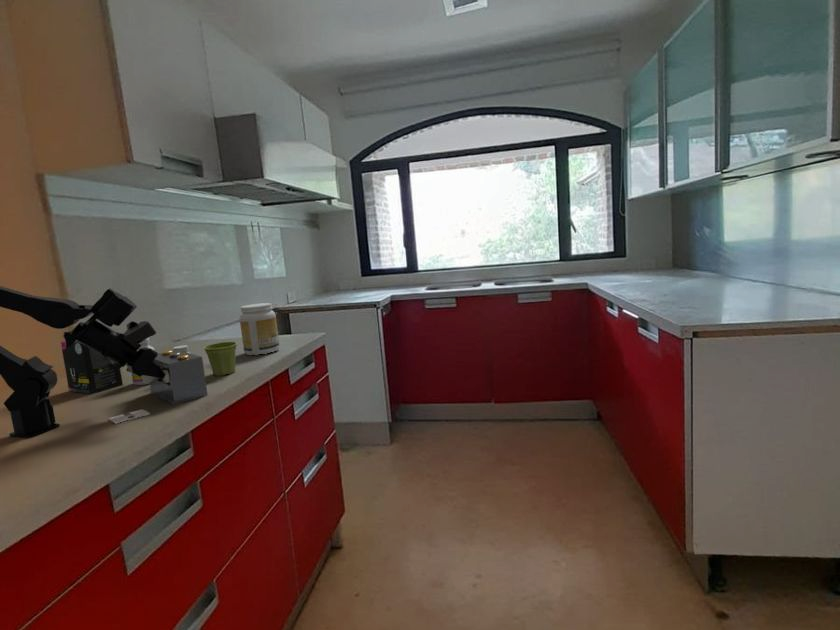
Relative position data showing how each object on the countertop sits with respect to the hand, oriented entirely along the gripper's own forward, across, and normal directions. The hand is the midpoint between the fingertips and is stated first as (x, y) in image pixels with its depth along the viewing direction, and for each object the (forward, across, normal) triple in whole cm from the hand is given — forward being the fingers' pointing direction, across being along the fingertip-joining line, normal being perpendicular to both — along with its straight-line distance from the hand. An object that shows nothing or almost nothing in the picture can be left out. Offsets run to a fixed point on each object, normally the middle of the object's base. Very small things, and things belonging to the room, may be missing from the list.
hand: (163, 376), depth 119 cm
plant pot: (+20, +16, -10) cm, 27 cm away
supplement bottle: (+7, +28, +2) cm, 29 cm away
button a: (+3, 0, 0) cm, 3 cm away
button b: (0, +6, +2) cm, 6 cm away
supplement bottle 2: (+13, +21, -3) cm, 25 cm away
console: (+8, +6, +2) cm, 10 cm away
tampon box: (0, +36, +10) cm, 37 cm away
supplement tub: (+35, +33, -25) cm, 54 cm away
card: (-2, -3, +11) cm, 12 cm away
